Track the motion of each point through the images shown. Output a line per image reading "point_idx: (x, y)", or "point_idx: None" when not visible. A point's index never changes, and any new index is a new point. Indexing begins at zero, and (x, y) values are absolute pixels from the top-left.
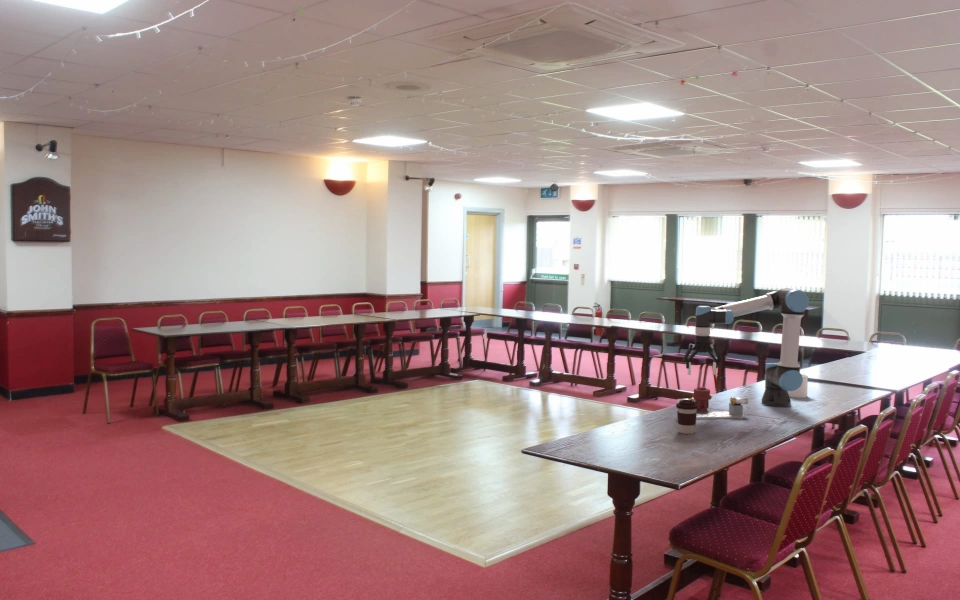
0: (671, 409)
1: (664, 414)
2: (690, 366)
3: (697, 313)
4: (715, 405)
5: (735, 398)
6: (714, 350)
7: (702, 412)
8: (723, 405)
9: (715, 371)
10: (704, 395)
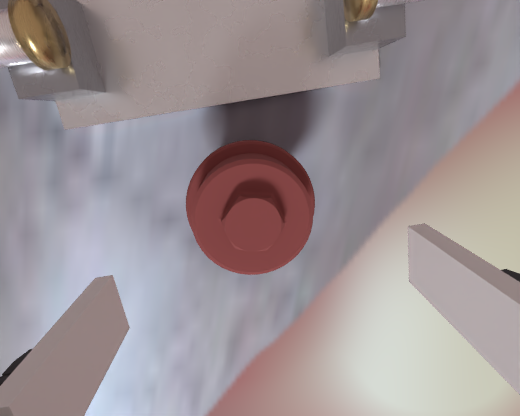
0: (397, 191)
1: (467, 59)
2: (485, 277)
3: None
4: (162, 305)
5: (5, 25)
6: None
7: (260, 79)
8: None
9: (80, 300)
10: (241, 154)
